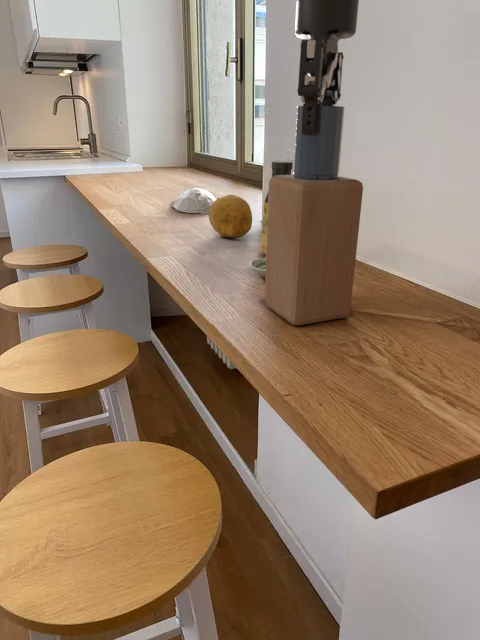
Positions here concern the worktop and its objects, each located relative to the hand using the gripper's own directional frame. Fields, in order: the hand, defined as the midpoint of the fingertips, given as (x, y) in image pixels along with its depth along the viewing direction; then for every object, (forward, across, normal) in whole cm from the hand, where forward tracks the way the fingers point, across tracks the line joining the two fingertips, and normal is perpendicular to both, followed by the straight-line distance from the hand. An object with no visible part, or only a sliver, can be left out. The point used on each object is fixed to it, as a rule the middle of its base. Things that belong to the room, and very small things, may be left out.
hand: (318, 134), depth 66 cm
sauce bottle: (+26, +27, +13) cm, 39 cm away
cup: (+6, 0, 0) cm, 6 cm away
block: (+26, 0, 0) cm, 26 cm away
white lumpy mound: (+26, +78, +56) cm, 99 cm away
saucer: (+26, +16, +10) cm, 32 cm away
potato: (+26, +44, +30) cm, 59 cm away
